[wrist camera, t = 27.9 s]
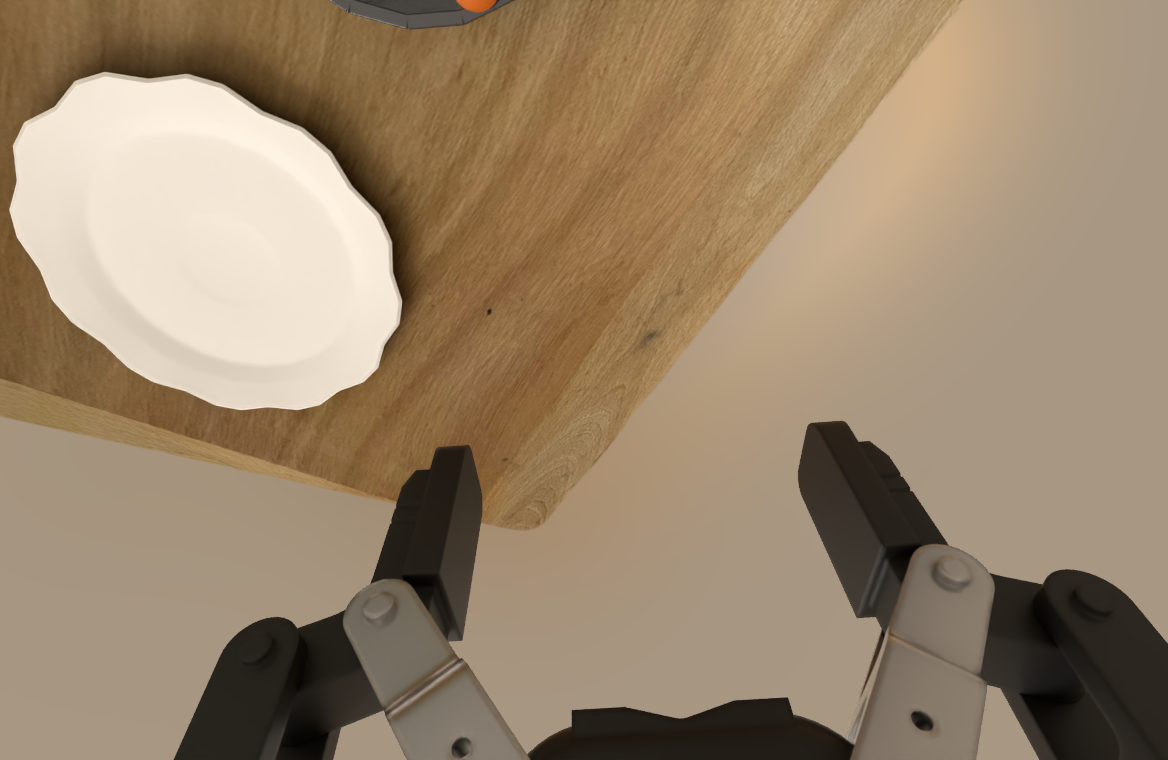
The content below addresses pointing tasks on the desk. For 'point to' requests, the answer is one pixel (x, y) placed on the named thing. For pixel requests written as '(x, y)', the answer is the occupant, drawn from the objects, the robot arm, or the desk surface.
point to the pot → (415, 12)
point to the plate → (205, 241)
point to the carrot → (476, 4)
